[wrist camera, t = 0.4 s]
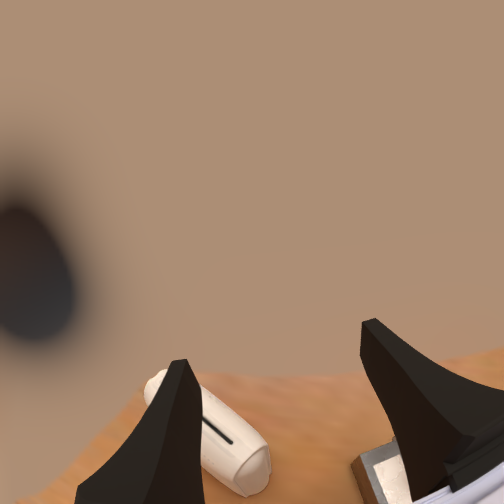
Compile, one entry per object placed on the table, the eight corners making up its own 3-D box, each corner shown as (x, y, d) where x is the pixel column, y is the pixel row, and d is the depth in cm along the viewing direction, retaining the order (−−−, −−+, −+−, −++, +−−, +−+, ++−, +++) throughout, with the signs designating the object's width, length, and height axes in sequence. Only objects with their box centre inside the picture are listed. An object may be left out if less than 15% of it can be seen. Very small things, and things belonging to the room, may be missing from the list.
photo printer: (172, 439, 26) (124, 381, 19) (201, 414, 29) (168, 346, 21) (248, 505, 20) (229, 485, 13) (279, 474, 23) (280, 434, 15)
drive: (412, 513, 17) (431, 508, 14) (374, 531, 16) (389, 530, 14) (386, 450, 23) (400, 437, 21) (350, 465, 23) (359, 454, 20)
